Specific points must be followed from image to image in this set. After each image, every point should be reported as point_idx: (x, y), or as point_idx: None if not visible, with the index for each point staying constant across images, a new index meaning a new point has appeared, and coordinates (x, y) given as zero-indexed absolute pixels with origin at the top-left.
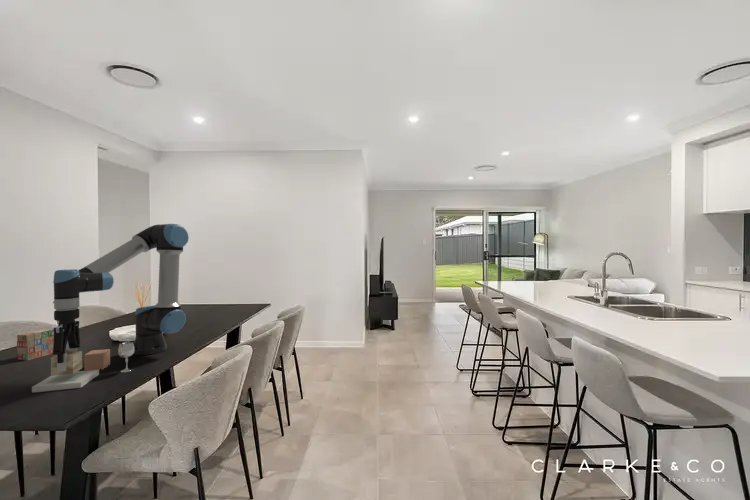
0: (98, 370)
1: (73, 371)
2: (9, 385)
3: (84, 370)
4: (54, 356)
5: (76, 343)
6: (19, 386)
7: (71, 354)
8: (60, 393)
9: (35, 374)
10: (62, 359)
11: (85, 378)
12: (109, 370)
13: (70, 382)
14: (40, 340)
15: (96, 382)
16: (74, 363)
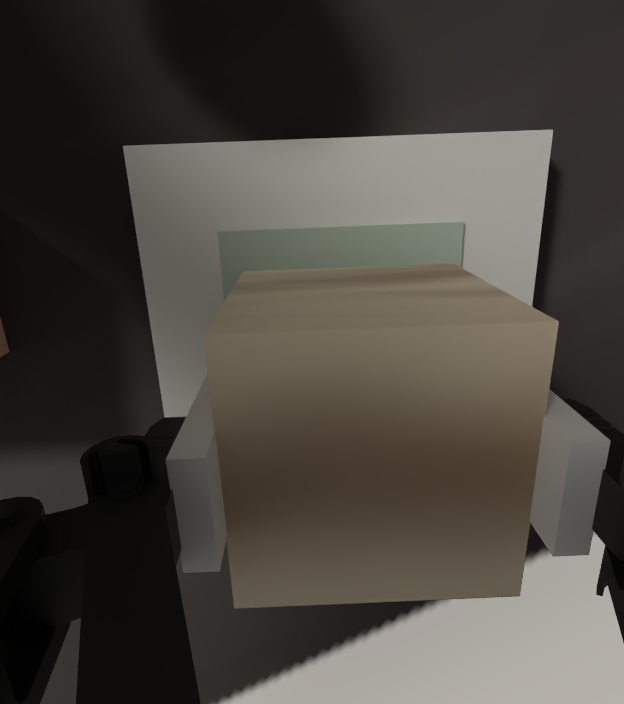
0: (137, 146)
1: (454, 268)
2: (276, 666)
3: (6, 352)
4: (476, 577)
5: (131, 532)
6: (317, 605)
7: (447, 392)
8: (612, 247)
9: (62, 649)
10: (589, 422)
11: (432, 144)
12: (16, 89)
13: (514, 239)
14: None
15: (415, 44)
16: (454, 289)
